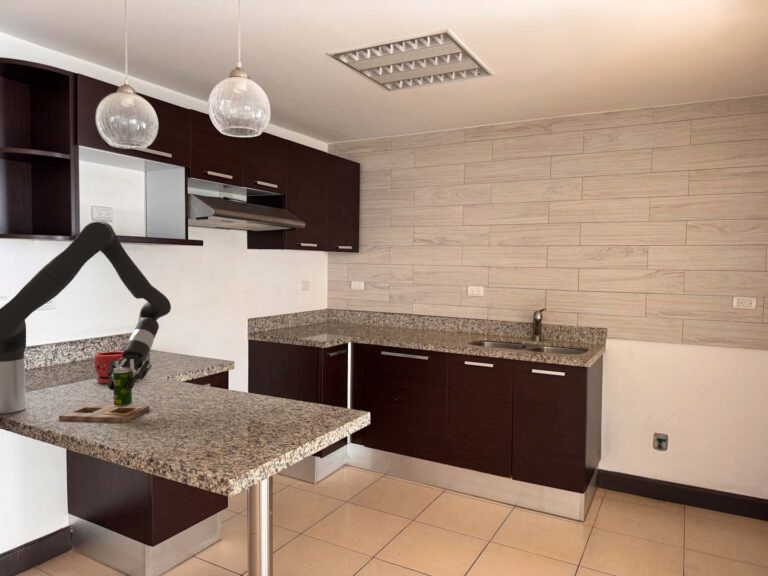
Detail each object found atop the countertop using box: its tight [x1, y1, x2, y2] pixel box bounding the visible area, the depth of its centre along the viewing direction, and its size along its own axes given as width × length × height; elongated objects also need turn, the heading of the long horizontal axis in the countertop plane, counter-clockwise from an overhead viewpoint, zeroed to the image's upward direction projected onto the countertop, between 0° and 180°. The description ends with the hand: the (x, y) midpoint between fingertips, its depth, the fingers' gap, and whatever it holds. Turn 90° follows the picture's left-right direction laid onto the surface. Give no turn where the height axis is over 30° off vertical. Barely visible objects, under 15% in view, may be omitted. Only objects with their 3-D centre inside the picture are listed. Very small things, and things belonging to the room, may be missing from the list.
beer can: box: [112, 367, 133, 407], centre depth 177 cm, size 5×5×12 cm
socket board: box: [58, 403, 150, 423], centre depth 178 cm, size 22×14×2 cm, turn 83°
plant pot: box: [93, 351, 123, 384], centre depth 229 cm, size 13×13×12 cm
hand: (119, 389), depth 176 cm, fingers closed on beer can, 5 cm apart
